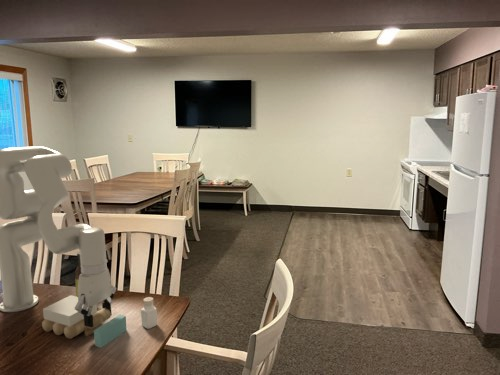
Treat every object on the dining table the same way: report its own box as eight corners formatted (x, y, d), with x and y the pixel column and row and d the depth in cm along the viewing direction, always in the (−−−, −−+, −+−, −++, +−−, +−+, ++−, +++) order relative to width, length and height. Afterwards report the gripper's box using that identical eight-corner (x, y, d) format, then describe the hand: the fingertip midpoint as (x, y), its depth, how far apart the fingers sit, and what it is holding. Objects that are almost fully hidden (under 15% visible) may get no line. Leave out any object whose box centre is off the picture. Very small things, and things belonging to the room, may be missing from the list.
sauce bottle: (88, 308, 144) (84, 256, 140) (73, 306, 145) (68, 255, 142) (98, 300, 150) (95, 250, 147) (84, 299, 151) (80, 249, 148)
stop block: (95, 345, 120) (93, 330, 119) (120, 328, 130) (119, 314, 129) (101, 347, 119) (100, 332, 118) (126, 330, 129) (125, 316, 128)
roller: (94, 329, 122) (93, 318, 121) (85, 327, 124) (84, 316, 123) (111, 319, 128) (110, 308, 128) (102, 317, 130) (101, 306, 129)
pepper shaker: (147, 330, 129) (146, 303, 127) (141, 325, 132) (139, 299, 130) (158, 325, 132) (156, 298, 130) (151, 321, 135) (150, 295, 133)
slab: (43, 318, 128) (42, 308, 128) (71, 304, 138) (70, 295, 138) (70, 326, 124) (69, 316, 123) (97, 311, 133) (96, 301, 133)
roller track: (42, 330, 129) (41, 319, 128) (72, 314, 140) (71, 303, 139) (92, 346, 120) (91, 334, 119) (120, 327, 131) (119, 316, 130)
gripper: (105, 257, 132) (109, 306, 135) (62, 275, 117) (67, 331, 120) (123, 260, 129) (126, 310, 132) (80, 279, 113) (85, 336, 116)
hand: (98, 320), depth 126 cm, fingers closed on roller, 7 cm apart
